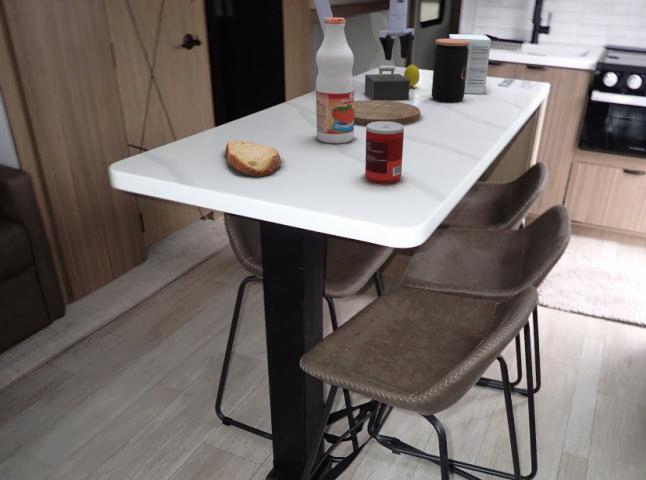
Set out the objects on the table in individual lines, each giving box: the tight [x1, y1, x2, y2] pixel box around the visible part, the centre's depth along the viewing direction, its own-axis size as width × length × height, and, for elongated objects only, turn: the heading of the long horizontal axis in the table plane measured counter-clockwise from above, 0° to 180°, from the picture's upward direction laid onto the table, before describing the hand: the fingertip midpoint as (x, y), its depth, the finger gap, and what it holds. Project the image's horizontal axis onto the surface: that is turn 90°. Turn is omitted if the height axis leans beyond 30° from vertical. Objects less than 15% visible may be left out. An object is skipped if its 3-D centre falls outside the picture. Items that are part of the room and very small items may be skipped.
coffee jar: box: [431, 38, 469, 104], centre depth 192 cm, size 11×11×18 cm
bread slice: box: [225, 140, 282, 178], centre depth 132 cm, size 18×18×4 cm
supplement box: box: [448, 33, 492, 95], centre depth 207 cm, size 13×13×18 cm
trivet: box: [354, 99, 421, 127], centre depth 174 cm, size 25×25×2 cm
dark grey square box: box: [364, 76, 410, 101], centre depth 197 cm, size 12×12×5 cm
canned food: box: [364, 121, 405, 185], centre depth 123 cm, size 8×8×11 cm
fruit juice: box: [315, 16, 355, 144], centre depth 144 cm, size 9×9×28 cm
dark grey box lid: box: [364, 65, 410, 84], centre depth 194 cm, size 12×12×4 cm
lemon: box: [403, 63, 421, 89], centre depth 211 cm, size 6×6×8 cm
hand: (396, 59), depth 203 cm, fingers open, 7 cm apart
